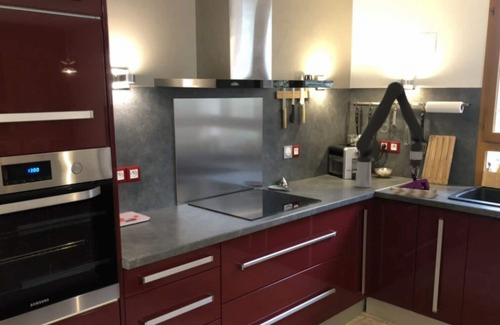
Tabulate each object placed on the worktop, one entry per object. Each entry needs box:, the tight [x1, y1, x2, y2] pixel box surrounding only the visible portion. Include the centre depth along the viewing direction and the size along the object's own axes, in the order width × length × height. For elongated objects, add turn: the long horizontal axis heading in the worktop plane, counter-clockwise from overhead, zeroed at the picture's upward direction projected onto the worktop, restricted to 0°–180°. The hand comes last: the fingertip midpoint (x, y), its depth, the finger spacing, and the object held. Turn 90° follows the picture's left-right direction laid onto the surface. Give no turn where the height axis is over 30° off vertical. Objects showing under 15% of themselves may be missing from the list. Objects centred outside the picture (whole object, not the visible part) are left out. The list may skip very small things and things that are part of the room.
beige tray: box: [390, 186, 438, 199], centre depth 281 cm, size 25×14×4 cm, turn 59°
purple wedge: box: [398, 178, 431, 191], centre depth 287 cm, size 9×8×18 cm
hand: (414, 184), depth 290 cm, fingers closed
